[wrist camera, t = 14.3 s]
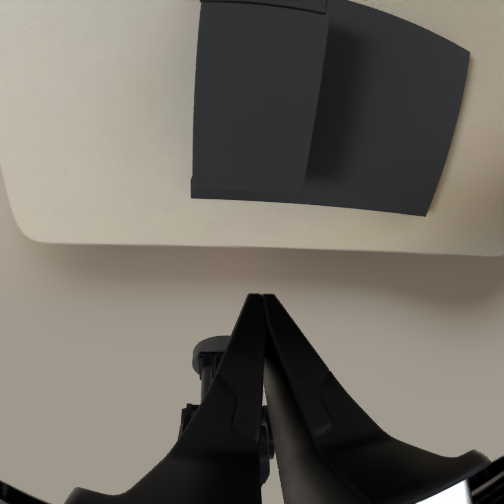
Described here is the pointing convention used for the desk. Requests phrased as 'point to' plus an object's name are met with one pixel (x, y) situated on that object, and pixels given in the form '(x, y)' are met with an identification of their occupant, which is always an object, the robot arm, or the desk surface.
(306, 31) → the foam pad
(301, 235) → the desk surface
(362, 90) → the base pad
